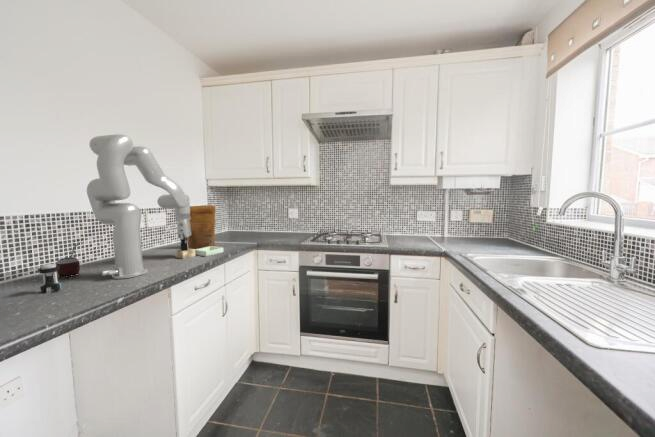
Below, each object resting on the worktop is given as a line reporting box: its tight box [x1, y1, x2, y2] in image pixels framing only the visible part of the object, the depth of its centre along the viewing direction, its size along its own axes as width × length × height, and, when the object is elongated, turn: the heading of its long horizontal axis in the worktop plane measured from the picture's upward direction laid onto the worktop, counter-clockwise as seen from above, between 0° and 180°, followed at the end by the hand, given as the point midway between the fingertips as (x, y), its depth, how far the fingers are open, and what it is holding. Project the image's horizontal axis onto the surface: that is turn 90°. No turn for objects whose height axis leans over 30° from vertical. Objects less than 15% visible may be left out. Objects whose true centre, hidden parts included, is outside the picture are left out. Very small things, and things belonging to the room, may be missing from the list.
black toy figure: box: [35, 263, 62, 294], centre depth 93 cm, size 7×5×10 cm
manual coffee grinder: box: [56, 241, 82, 279], centre depth 111 cm, size 8×8×15 cm
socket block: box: [175, 248, 196, 260], centre depth 143 cm, size 7×7×4 cm
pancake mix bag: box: [188, 205, 217, 249], centre depth 166 cm, size 7×19×28 cm, turn 109°
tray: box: [195, 246, 225, 258], centre depth 151 cm, size 12×12×3 cm
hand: (185, 249), depth 143 cm, fingers closed on steel pin, 3 cm apart
